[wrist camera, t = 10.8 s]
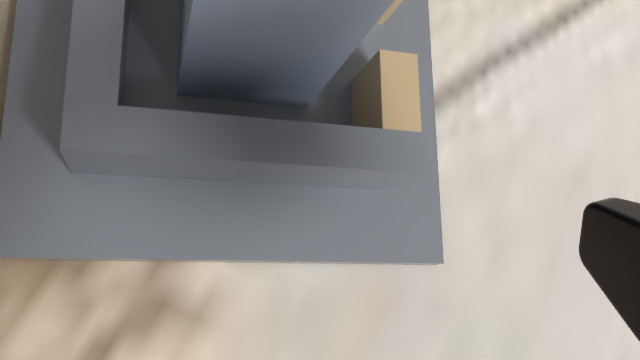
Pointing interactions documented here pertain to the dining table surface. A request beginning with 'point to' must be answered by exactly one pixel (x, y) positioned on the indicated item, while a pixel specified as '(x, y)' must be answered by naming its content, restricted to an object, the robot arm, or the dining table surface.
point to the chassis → (212, 148)
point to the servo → (269, 47)
